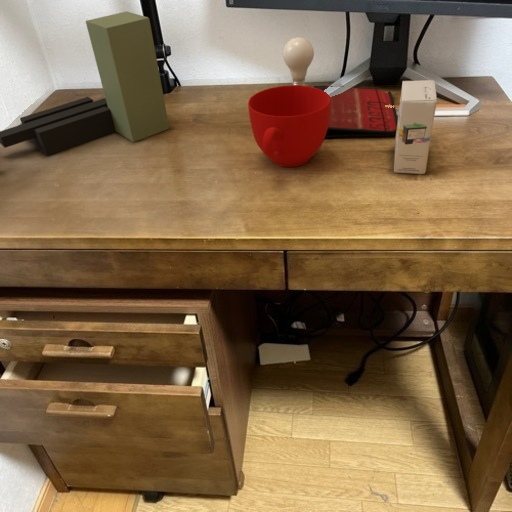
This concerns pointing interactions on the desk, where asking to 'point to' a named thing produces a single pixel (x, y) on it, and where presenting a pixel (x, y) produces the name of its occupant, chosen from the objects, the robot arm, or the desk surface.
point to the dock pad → (70, 127)
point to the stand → (129, 73)
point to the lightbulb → (298, 58)
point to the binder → (361, 113)
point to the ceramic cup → (289, 122)
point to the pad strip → (44, 123)
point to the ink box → (414, 126)
